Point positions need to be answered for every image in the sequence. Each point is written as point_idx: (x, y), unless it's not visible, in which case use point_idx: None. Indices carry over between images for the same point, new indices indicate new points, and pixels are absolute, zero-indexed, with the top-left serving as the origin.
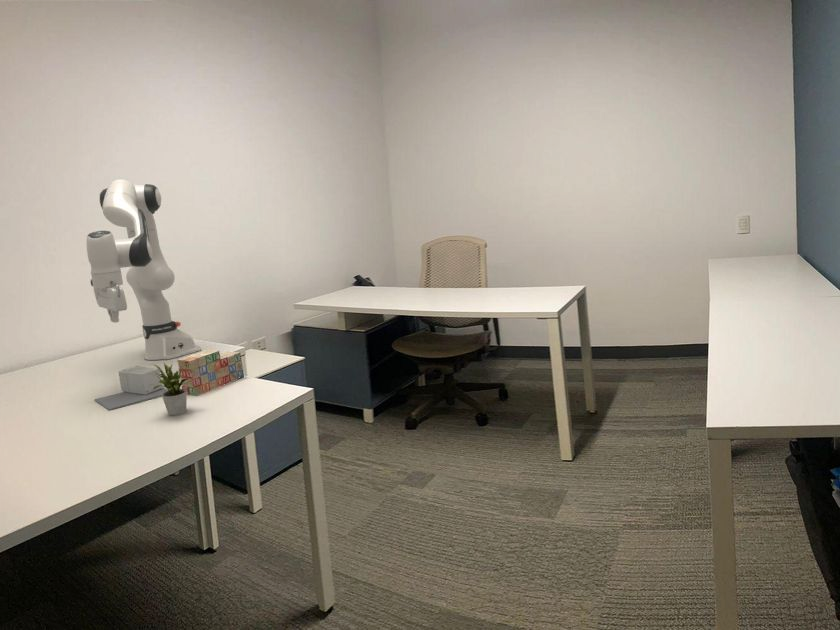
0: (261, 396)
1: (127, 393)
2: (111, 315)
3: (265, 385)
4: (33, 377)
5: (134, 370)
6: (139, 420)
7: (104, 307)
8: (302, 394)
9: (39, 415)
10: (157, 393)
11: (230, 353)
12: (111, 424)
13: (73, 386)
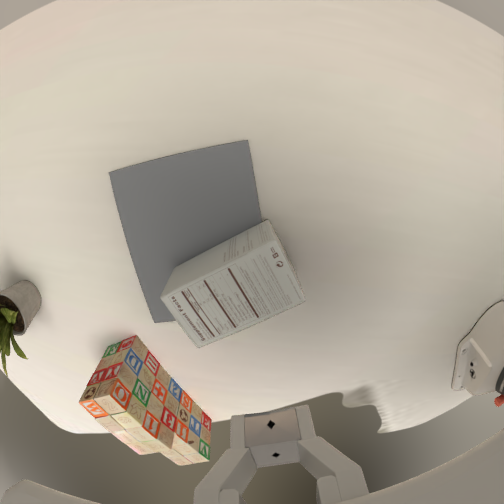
0: (59, 399)
1: (230, 230)
2: (304, 454)
3: None
4: None
5: (233, 288)
6: (17, 229)
7: (379, 499)
8: (52, 421)
9: (218, 11)
10: None
11: (183, 458)
12: (22, 177)
13: (448, 126)
